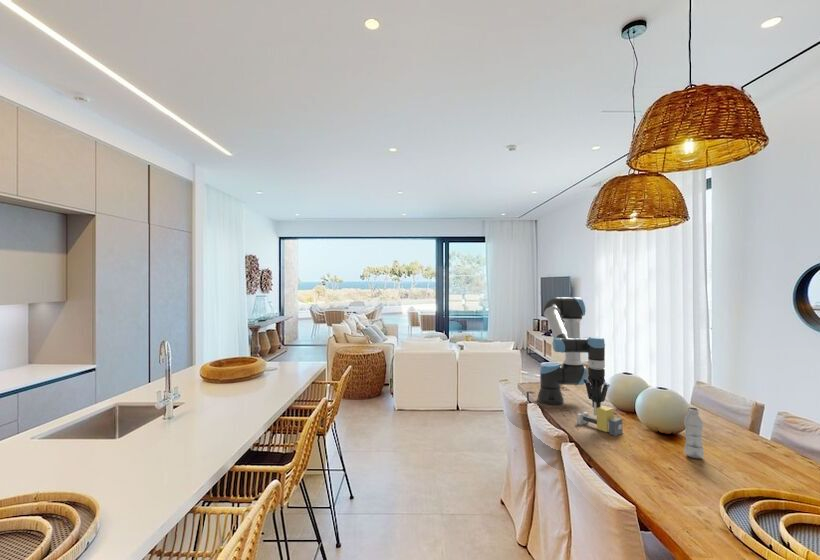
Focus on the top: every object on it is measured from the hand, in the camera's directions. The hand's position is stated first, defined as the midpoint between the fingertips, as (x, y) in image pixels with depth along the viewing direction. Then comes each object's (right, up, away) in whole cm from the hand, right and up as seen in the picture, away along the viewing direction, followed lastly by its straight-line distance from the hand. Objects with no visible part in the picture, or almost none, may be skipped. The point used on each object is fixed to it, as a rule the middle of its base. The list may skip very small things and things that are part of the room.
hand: (596, 414), depth 192 cm
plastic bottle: (+24, -6, -34) cm, 42 cm away
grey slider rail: (+1, -7, -1) cm, 7 cm away
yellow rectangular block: (+3, -7, -4) cm, 8 cm away
